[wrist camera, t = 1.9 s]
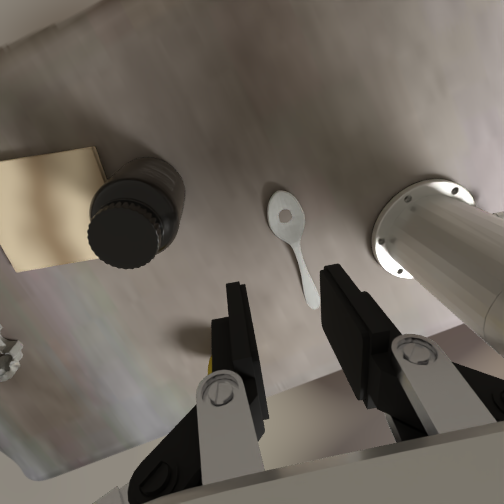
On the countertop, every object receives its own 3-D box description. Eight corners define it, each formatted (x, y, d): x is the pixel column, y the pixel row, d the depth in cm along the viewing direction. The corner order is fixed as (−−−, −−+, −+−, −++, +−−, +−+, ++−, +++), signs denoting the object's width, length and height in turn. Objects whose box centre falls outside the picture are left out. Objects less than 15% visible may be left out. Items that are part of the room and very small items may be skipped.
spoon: (293, 180, 33) (296, 184, 32) (334, 316, 43) (338, 324, 41) (257, 194, 34) (259, 198, 32) (306, 327, 43) (309, 335, 42)
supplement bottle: (102, 174, 30) (44, 216, 20) (164, 144, 30) (139, 171, 19) (141, 231, 33) (110, 295, 23) (198, 205, 33) (192, 258, 22)
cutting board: (95, 146, 29) (91, 147, 28) (131, 248, 34) (129, 252, 33) (-36, 166, 28) (-44, 168, 27) (21, 267, 33) (16, 272, 33)
